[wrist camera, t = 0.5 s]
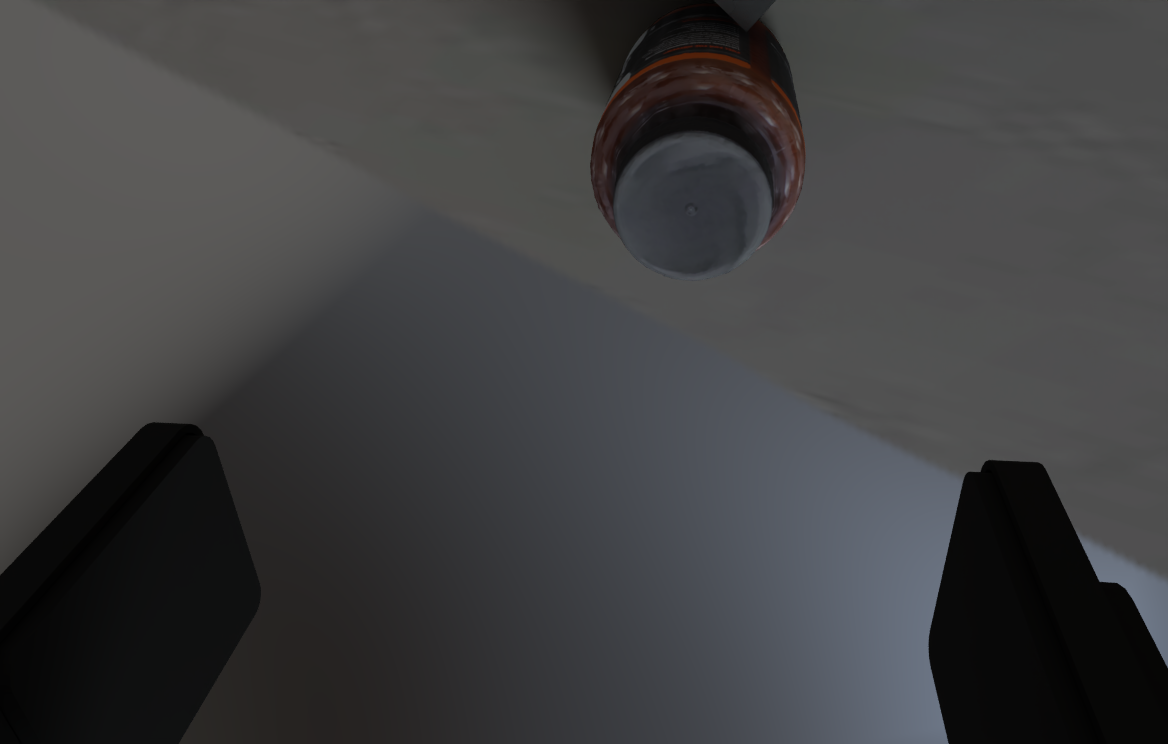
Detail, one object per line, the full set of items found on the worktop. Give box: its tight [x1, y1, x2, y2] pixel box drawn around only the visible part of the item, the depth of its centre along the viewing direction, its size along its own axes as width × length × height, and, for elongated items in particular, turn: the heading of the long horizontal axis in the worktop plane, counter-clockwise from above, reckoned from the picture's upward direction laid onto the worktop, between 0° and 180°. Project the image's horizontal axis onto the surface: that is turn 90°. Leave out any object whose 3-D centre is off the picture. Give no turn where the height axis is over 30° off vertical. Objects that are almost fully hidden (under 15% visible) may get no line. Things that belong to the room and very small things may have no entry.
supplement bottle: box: [590, 3, 805, 281], centre depth 27 cm, size 6×6×11 cm
